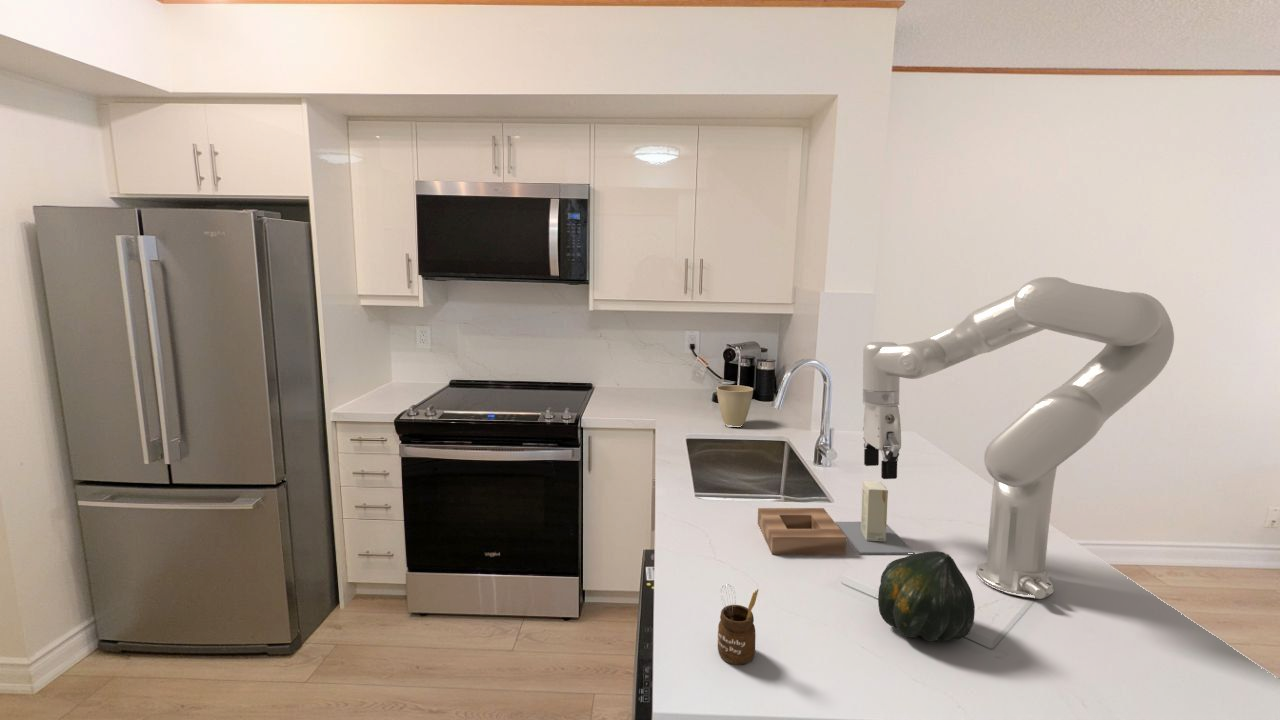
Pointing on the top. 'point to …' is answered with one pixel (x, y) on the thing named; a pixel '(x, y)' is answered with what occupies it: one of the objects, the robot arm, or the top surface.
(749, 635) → the utensil holder
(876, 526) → the skincare box
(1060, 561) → the top surface
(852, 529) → the slate mat
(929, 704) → the top surface
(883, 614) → the squash
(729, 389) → the plant pot
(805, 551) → the pocket block
